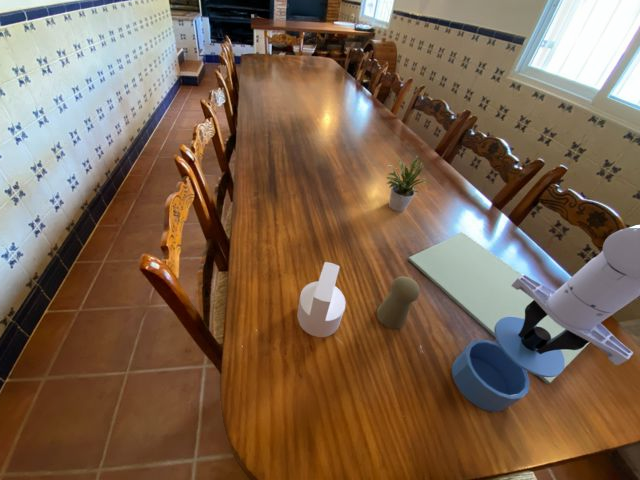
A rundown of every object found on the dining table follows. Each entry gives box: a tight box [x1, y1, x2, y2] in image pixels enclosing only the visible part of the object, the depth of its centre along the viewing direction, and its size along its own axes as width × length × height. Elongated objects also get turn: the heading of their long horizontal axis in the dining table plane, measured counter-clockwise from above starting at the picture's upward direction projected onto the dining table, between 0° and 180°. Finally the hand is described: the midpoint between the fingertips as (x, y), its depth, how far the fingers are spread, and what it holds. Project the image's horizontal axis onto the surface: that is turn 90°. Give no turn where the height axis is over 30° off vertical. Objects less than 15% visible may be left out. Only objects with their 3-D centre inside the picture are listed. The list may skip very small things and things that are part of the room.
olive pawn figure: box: [376, 275, 420, 330], centre depth 60 cm, size 6×6×11 cm
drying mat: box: [407, 231, 591, 385], centre depth 70 cm, size 34×22×1 cm, turn 30°
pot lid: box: [494, 317, 566, 377], centre depth 49 cm, size 10×10×5 cm
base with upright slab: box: [296, 261, 347, 338], centre depth 58 cm, size 9×9×12 cm
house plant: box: [385, 153, 431, 212], centre depth 90 cm, size 14×14×16 cm
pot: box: [451, 339, 531, 413], centre depth 52 cm, size 10×10×6 cm
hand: (531, 342), depth 49 cm, fingers closed on pot lid, 2 cm apart
